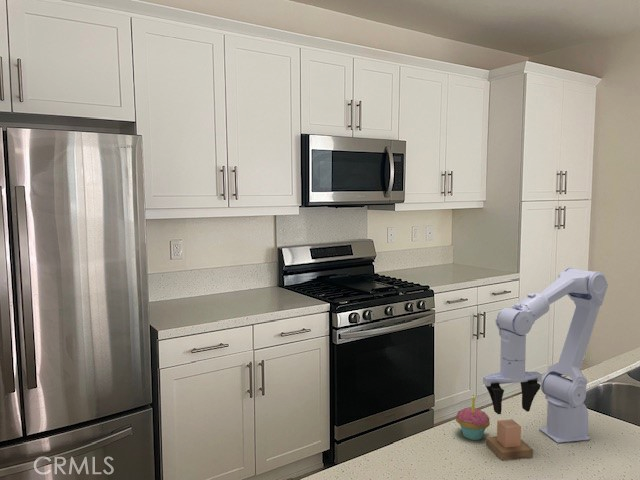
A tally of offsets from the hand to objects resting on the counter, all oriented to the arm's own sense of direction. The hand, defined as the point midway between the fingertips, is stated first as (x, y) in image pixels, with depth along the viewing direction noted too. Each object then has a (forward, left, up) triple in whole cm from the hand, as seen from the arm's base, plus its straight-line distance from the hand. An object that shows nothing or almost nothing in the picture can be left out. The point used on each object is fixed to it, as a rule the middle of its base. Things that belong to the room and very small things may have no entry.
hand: (511, 411), depth 126 cm
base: (+1, 0, -10) cm, 10 cm away
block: (+1, 0, -8) cm, 8 cm away
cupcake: (+6, -9, -10) cm, 15 cm away
